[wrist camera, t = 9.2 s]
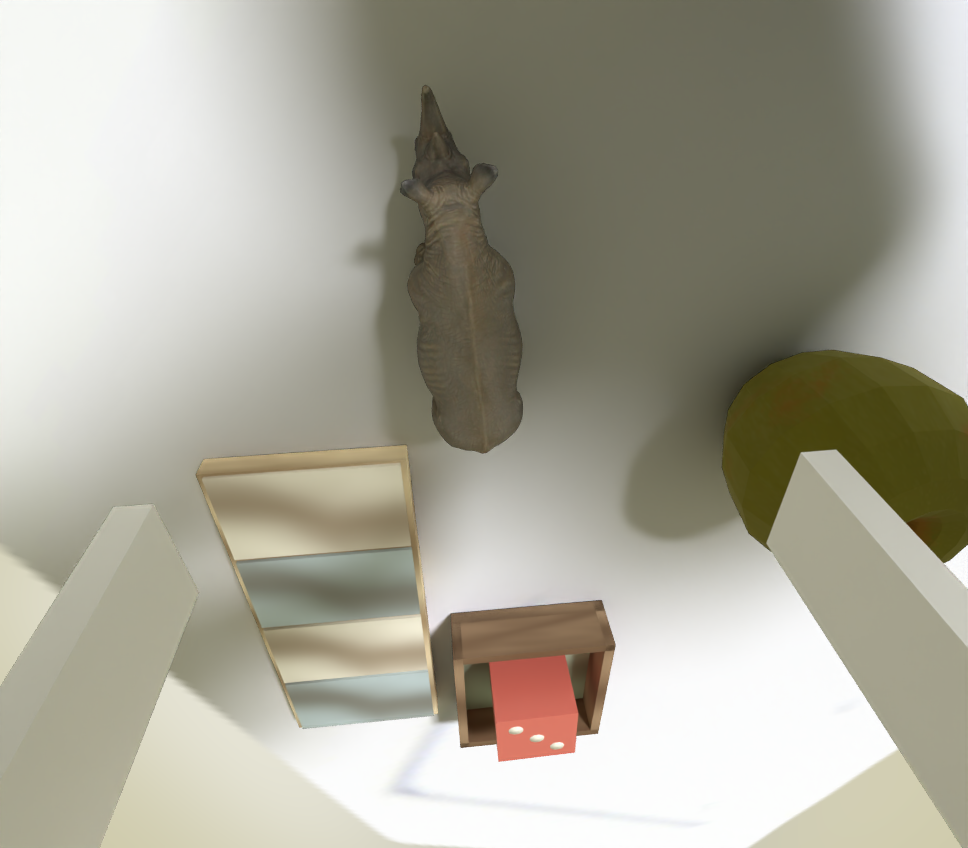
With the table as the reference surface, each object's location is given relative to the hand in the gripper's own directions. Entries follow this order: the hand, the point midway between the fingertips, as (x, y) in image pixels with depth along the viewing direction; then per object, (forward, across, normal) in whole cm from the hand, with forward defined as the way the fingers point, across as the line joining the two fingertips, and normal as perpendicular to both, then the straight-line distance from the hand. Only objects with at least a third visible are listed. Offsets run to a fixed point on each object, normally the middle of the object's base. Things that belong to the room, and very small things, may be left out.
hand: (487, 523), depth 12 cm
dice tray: (+14, +3, -28) cm, 32 cm away
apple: (+15, +16, -8) cm, 24 cm away
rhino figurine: (+15, 0, 0) cm, 15 cm away
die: (+13, +3, -28) cm, 31 cm away
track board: (+14, -8, -21) cm, 26 cm away
